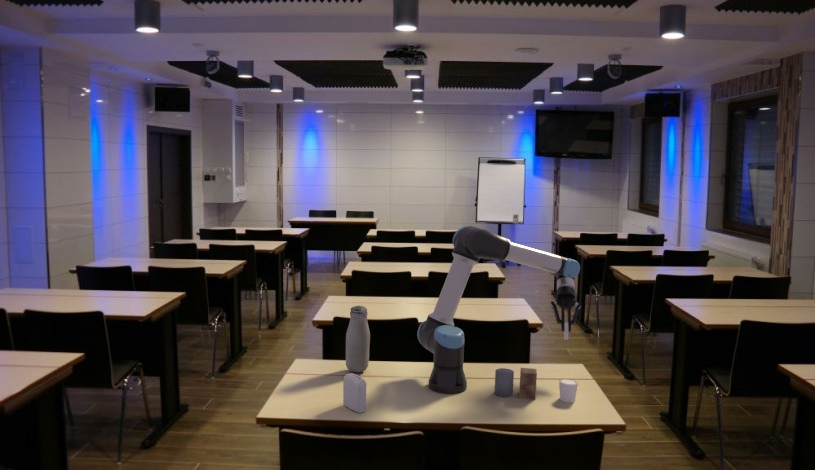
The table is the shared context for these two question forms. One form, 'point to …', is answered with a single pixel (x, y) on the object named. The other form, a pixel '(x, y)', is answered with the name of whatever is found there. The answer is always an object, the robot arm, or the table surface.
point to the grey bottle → (357, 340)
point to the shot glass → (568, 390)
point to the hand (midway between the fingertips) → (566, 338)
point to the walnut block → (528, 383)
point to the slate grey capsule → (504, 382)
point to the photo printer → (354, 392)
